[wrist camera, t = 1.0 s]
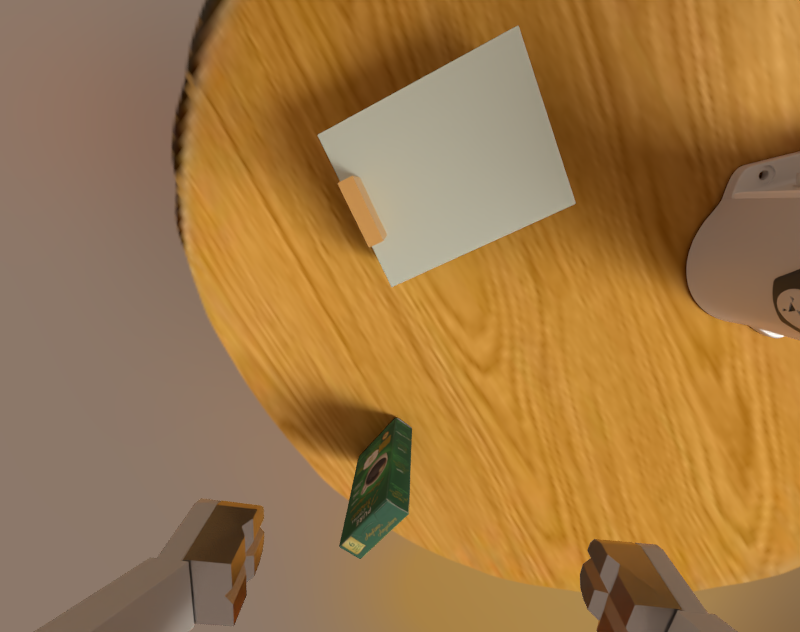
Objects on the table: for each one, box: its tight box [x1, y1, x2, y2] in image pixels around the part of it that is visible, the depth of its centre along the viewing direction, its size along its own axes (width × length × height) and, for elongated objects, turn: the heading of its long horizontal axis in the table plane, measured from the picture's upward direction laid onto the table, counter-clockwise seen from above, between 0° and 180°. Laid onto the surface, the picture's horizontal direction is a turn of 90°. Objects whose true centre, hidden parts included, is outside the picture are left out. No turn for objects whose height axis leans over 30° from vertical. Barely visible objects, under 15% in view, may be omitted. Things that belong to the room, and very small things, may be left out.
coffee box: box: [339, 418, 412, 559], centre depth 42 cm, size 8×3×13 cm, turn 142°
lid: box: [318, 25, 576, 287], centre depth 29 cm, size 16×13×6 cm
